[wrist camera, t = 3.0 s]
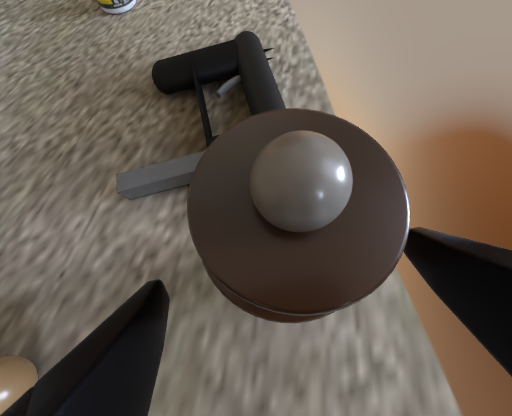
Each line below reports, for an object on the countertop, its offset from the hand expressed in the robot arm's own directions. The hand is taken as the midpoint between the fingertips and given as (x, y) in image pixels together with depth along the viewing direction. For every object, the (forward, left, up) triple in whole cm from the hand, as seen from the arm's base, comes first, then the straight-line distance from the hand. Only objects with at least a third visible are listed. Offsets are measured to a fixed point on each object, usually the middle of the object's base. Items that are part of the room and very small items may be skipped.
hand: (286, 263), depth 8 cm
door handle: (+13, 0, -9) cm, 16 cm away
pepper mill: (+1, 0, -9) cm, 9 cm away
